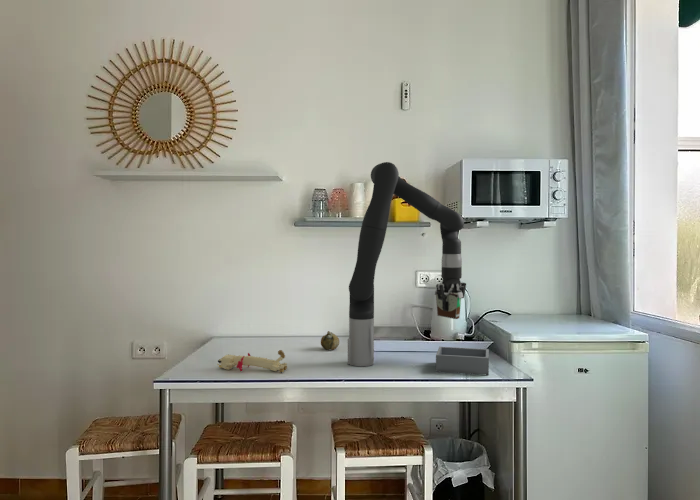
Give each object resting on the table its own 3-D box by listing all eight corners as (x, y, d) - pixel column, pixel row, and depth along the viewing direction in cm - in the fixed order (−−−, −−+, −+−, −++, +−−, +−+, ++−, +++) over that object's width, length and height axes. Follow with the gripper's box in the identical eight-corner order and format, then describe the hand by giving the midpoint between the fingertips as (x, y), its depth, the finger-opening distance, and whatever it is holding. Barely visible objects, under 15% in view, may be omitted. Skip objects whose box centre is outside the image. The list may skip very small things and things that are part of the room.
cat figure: (288, 371, 197) (223, 363, 201) (290, 348, 196) (225, 339, 201) (279, 379, 187) (211, 369, 192) (281, 354, 187) (213, 345, 191)
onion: (343, 349, 226) (343, 330, 225) (326, 352, 221) (326, 332, 221) (333, 346, 232) (333, 328, 232) (317, 349, 227) (317, 330, 227)
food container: (469, 317, 204) (470, 291, 203) (458, 319, 200) (459, 292, 200) (445, 313, 214) (445, 288, 213) (434, 315, 210) (434, 289, 209)
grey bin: (435, 371, 191) (435, 355, 191) (439, 362, 205) (439, 346, 204) (488, 375, 187) (488, 358, 186) (488, 365, 200) (488, 349, 200)
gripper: (445, 267, 198) (444, 313, 199) (472, 265, 207) (471, 310, 207) (430, 266, 205) (430, 310, 205) (457, 264, 213) (457, 307, 213)
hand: (451, 310), depth 206 cm, fingers closed on food container, 5 cm apart
